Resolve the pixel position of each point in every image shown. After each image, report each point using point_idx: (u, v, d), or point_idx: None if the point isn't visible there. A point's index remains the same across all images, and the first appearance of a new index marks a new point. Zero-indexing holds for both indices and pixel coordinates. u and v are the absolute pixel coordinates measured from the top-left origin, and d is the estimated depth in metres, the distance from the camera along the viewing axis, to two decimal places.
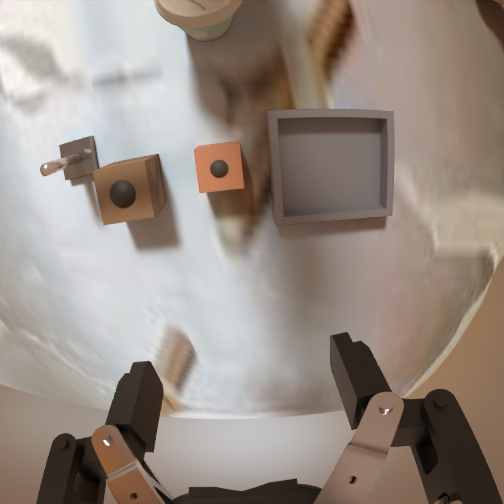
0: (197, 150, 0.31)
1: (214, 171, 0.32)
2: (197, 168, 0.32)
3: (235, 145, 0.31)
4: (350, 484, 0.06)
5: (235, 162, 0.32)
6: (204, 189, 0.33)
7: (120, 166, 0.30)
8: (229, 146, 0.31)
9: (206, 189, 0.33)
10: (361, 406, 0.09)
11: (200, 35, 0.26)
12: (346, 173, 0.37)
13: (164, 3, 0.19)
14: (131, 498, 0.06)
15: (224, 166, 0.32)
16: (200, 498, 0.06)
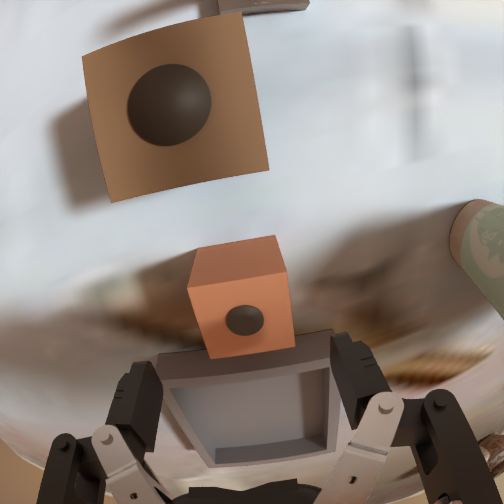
0: (284, 278, 0.15)
1: (237, 313, 0.16)
2: (242, 281, 0.15)
3: (292, 340, 0.17)
4: (350, 484, 0.06)
5: (259, 344, 0.17)
6: (196, 296, 0.15)
7: (253, 96, 0.10)
8: (291, 332, 0.16)
9: (197, 300, 0.15)
10: (361, 406, 0.09)
11: (480, 255, 0.16)
12: (247, 422, 0.26)
13: None
14: (131, 498, 0.06)
15: (250, 327, 0.16)
16: (200, 498, 0.06)
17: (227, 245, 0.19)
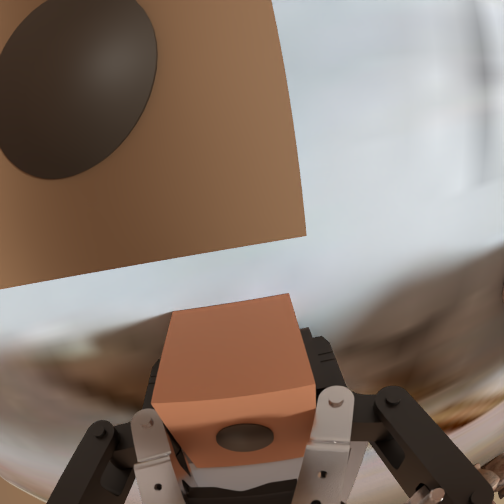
0: (309, 392, 0.08)
1: (233, 431, 0.09)
2: (241, 399, 0.08)
3: None
4: (322, 479, 0.06)
5: (265, 456, 0.10)
6: (167, 413, 0.08)
7: (270, 43, 0.03)
8: None
9: (169, 417, 0.08)
10: None
11: None
12: (245, 485, 0.20)
13: None
14: (154, 488, 0.06)
15: (253, 443, 0.09)
16: (200, 498, 0.06)
17: (216, 311, 0.12)
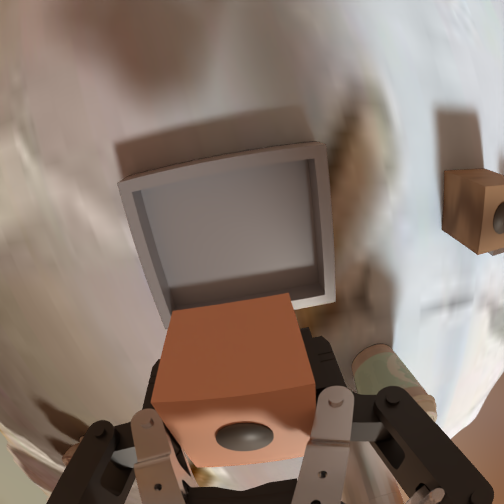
0: (309, 392, 0.08)
1: (232, 430, 0.09)
2: (241, 398, 0.08)
3: None
4: (321, 479, 0.06)
5: (264, 456, 0.10)
6: (167, 412, 0.08)
7: (496, 248, 0.22)
8: None
9: (169, 416, 0.08)
10: None
11: (392, 365, 0.30)
12: (208, 224, 0.25)
13: (434, 415, 0.23)
14: (154, 488, 0.06)
15: (253, 442, 0.09)
16: (200, 498, 0.06)
17: (216, 311, 0.12)
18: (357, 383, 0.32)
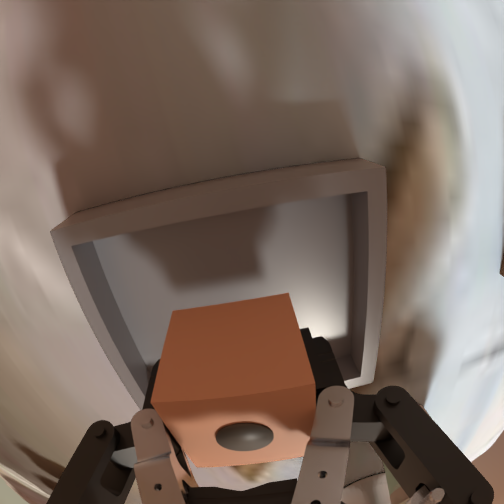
0: (309, 392, 0.08)
1: (233, 430, 0.09)
2: (241, 398, 0.08)
3: None
4: (321, 479, 0.06)
5: (265, 456, 0.10)
6: (167, 412, 0.08)
7: None
8: None
9: (169, 416, 0.08)
10: None
11: None
12: (194, 287, 0.17)
13: None
14: (154, 488, 0.06)
15: (253, 443, 0.09)
16: (200, 498, 0.06)
17: (216, 311, 0.12)
18: None
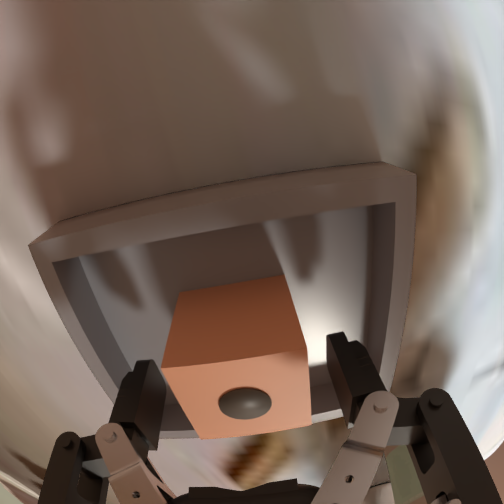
0: (302, 356, 0.10)
1: (234, 396, 0.10)
2: (242, 361, 0.10)
3: (308, 419, 0.11)
4: (347, 483, 0.06)
5: (264, 426, 0.11)
6: (175, 378, 0.10)
7: None
8: (307, 412, 0.11)
9: (176, 382, 0.10)
10: (357, 404, 0.09)
11: None
12: None
13: None
14: (133, 497, 0.06)
15: (253, 410, 0.11)
16: (200, 498, 0.06)
17: (219, 291, 0.14)
18: (390, 467, 0.21)
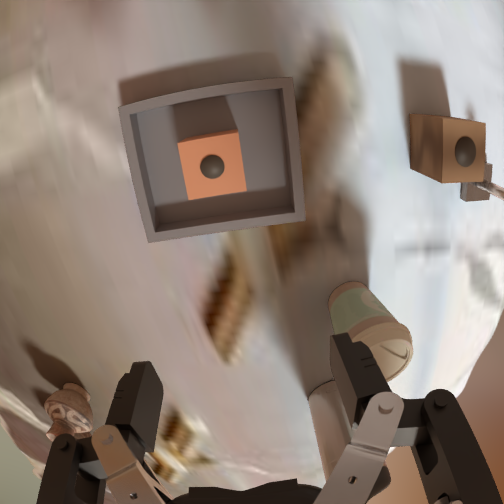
0: (236, 137, 0.23)
1: (207, 161, 0.24)
2: (211, 138, 0.23)
3: (244, 185, 0.25)
4: (350, 484, 0.06)
5: (221, 187, 0.25)
6: (182, 149, 0.23)
7: (461, 181, 0.25)
8: (243, 178, 0.25)
9: (183, 152, 0.23)
10: (362, 406, 0.09)
11: (366, 297, 0.33)
12: None
13: (409, 347, 0.27)
14: (131, 498, 0.06)
15: (216, 172, 0.24)
16: (200, 498, 0.06)
17: (206, 134, 0.27)
18: (332, 317, 0.35)
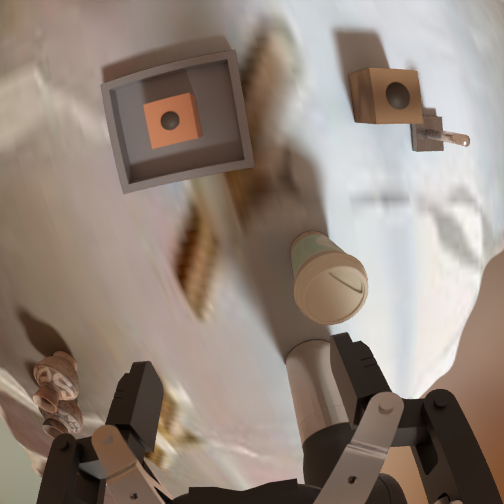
0: (188, 96, 0.27)
1: (166, 116, 0.28)
2: (169, 98, 0.27)
3: (196, 134, 0.29)
4: (350, 485, 0.06)
5: (178, 136, 0.29)
6: (147, 109, 0.27)
7: (398, 122, 0.29)
8: (194, 128, 0.29)
9: (147, 111, 0.28)
10: (361, 406, 0.09)
11: (321, 239, 0.36)
12: None
13: (362, 278, 0.30)
14: (131, 498, 0.06)
15: (173, 125, 0.28)
16: (200, 498, 0.06)
17: None
18: None
